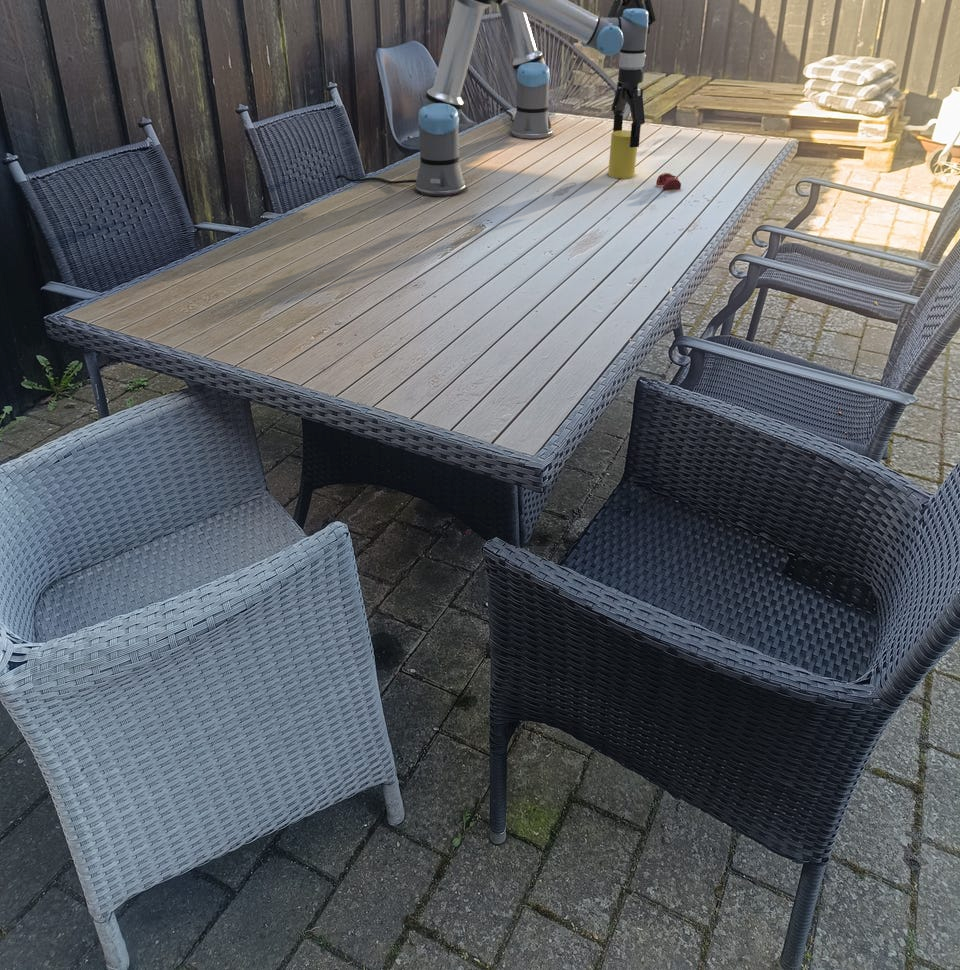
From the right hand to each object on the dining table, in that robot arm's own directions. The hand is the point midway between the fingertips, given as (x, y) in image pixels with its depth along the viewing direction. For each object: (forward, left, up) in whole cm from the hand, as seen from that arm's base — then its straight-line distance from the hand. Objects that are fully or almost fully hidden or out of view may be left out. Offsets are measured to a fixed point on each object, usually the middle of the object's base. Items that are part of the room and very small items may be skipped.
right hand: (628, 45), depth 308 cm
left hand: (+54, -36, -18) cm, 67 cm away
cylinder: (+54, -36, -28) cm, 71 cm away
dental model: (+73, -31, -28) cm, 84 cm away
